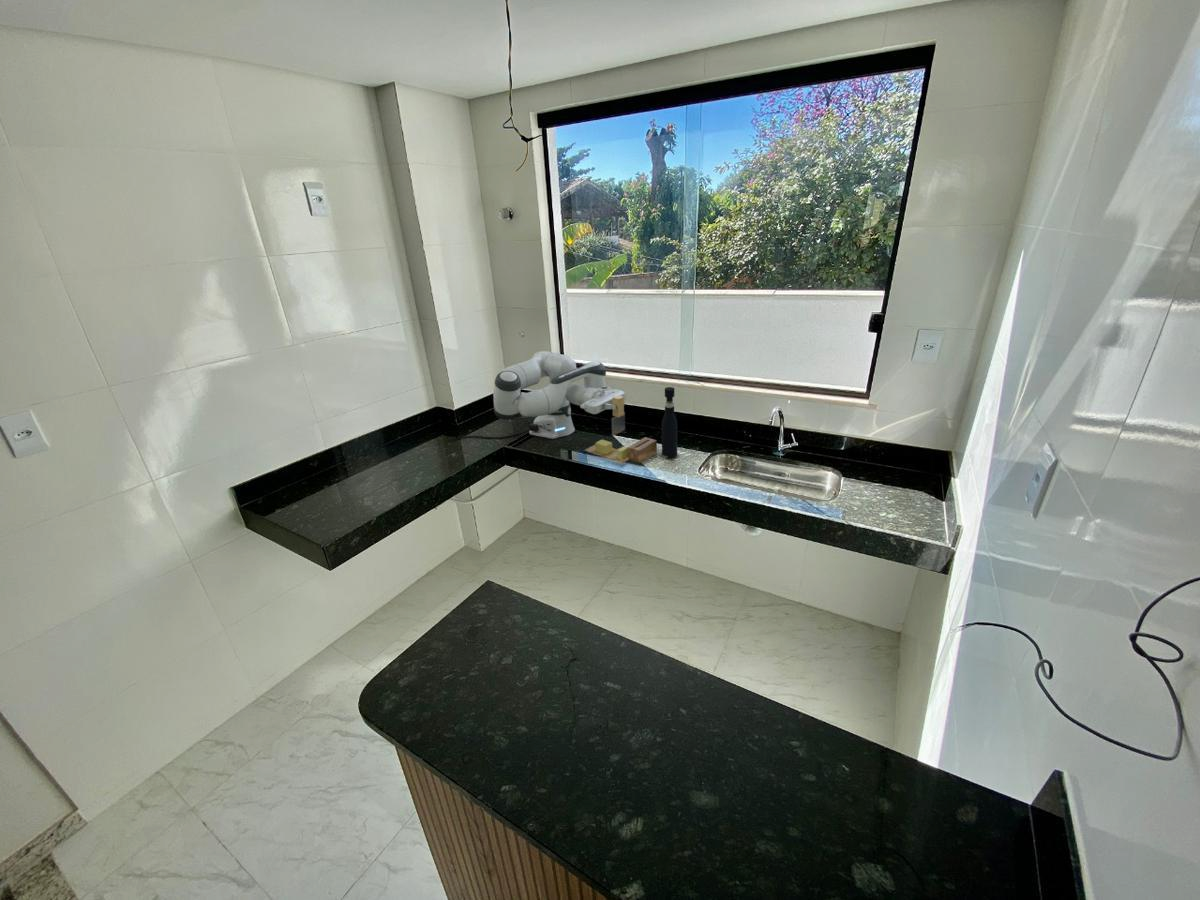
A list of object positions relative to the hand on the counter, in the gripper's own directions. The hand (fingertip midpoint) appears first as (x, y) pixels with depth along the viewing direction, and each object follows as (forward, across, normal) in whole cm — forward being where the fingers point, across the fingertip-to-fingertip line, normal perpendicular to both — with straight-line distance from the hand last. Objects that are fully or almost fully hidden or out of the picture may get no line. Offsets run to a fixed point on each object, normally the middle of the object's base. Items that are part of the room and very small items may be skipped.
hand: (619, 405), depth 196 cm
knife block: (+7, +5, +24) cm, 26 cm away
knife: (-1, 0, +12) cm, 13 cm away
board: (-7, 0, +24) cm, 25 cm away
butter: (-10, 0, +23) cm, 25 cm away
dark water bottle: (+15, +14, +24) cm, 32 cm away
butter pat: (+1, 0, +23) cm, 23 cm away
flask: (-61, +7, +25) cm, 66 cm away
